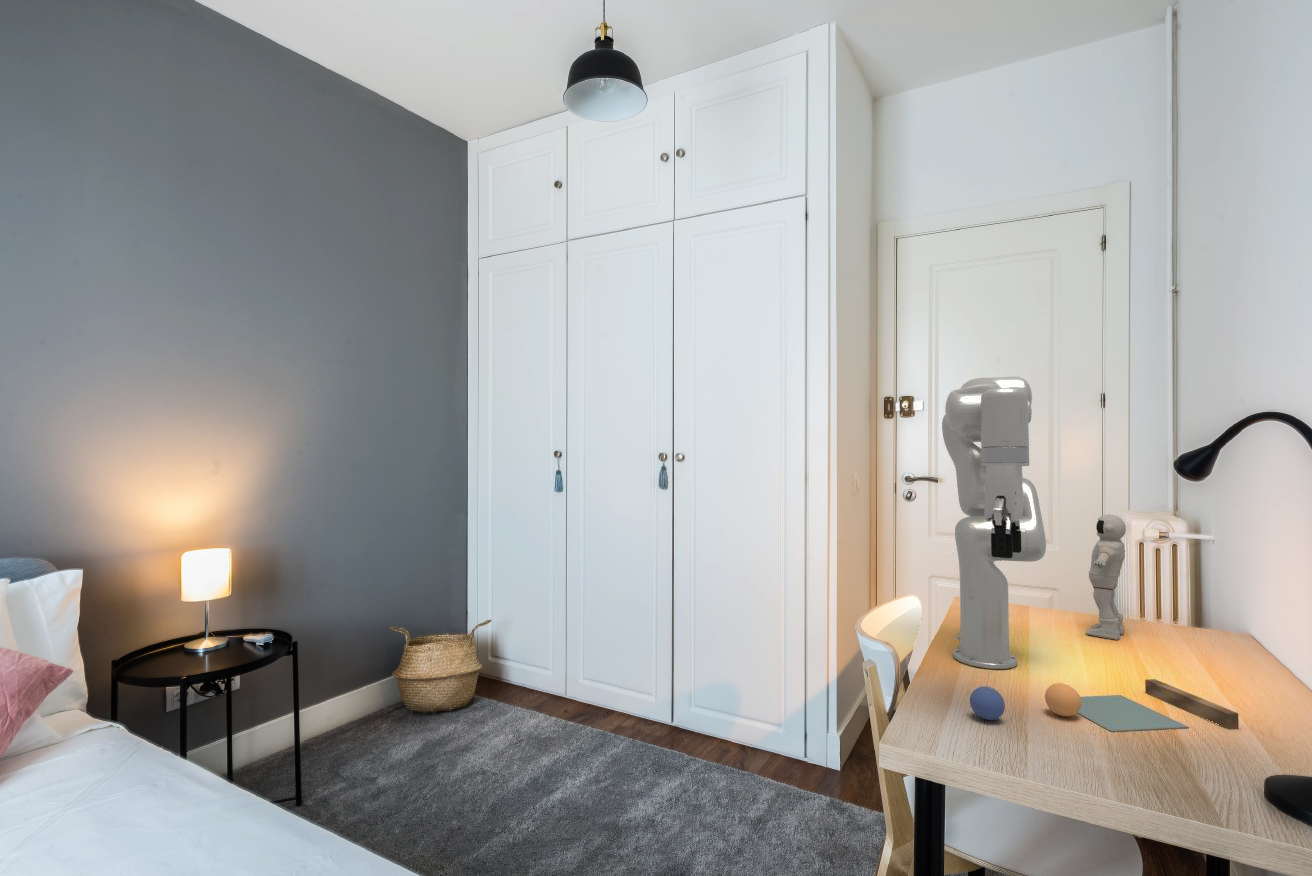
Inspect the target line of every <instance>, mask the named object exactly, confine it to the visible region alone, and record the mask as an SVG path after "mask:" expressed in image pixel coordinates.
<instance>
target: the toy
mask: <svg viewBox="0 0 1312 876" xmlns="http://www.w3.org/2000/svg"><path fill="white" fill-rule="evenodd" d="M1095 527H1096V528H1095V529H1096V531H1097V532H1096V535H1097V536H1098V537H1099V540H1098V541H1097V542H1096V543H1095V545H1094V547H1093V549H1092V553H1091V559H1090V560H1091V562H1090V564H1091V565H1090V570H1088V578H1089V581H1090V583H1091V585H1092V588H1093V593H1092V594H1093V595H1092V596H1093V600H1094V602H1095V604H1096V608H1097V609H1098V616H1099V617H1098V622H1099V623H1096V624H1092V625H1091V626H1090V628H1089V629H1087V630H1085V634H1086V635H1089V636H1093V637H1099V638H1104V639H1109V640H1115V641H1118V640H1120V639H1121V635H1124V634H1125V627H1124V624H1123V621H1124V616H1123V614H1122V613H1119V611H1118V608H1117V606H1116V603H1115V596H1116V595H1115V590H1116V588H1117V587H1118V579H1119V577H1120V576H1121V569H1122V566H1123V564H1124V560H1125V557H1126V555H1125V554H1126V550H1125V543H1124V542H1123V541H1122V538H1123V537H1124V536H1125V534H1126V532H1127V526H1126V524H1125V522H1124V520H1123V519H1122V518H1120V517H1119V516H1117V515H1115V514H1104V515H1101V516H1099V517H1097V522H1096V526H1095Z"/></svg>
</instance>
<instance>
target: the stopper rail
mask: <svg viewBox="0 0 1312 876" xmlns="http://www.w3.org/2000/svg"><path fill="white" fill-rule="evenodd" d="M1144 680H1145V681H1144V682H1145V687H1144V688H1145V689H1144V690H1145V693H1146V694H1147V695H1150V696H1151V697H1154V698H1156V699H1159V700H1161V701H1164V702H1166V703H1168V704H1170V705H1172V706H1175V707H1176V708H1178V709H1180V710H1184V711H1186V712H1189V713H1190V714H1192V713H1193V715H1194V716H1195V715H1196V716H1197V715H1198V717H1199V716H1200V718H1202V717H1203V718H1202V719H1204V718H1205V719H1204V720H1206V719H1208V720H1210V721H1209V722H1211V721H1213V722H1214V723H1213V722H1212V723H1213V724H1215V723H1217V724H1219V725H1218V726H1220V725H1221V726H1220V727H1222V726H1223V727H1222V728H1224V727H1225V728H1224V729H1226V728H1227V729H1226V730H1235V729H1238V728H1239V726H1240V725H1239V722H1240V721H1239V712H1236V711H1234V710H1231V709H1229V708H1226V707H1225V706H1222V705H1219V704H1216V703H1214V702H1211V701H1209V700H1207V699H1204V698H1202V697H1200V696H1197V695H1194V694H1192V693H1191V692H1190V693H1189V692H1187V691H1186V690H1182V689H1180V688H1178V687H1175V686H1172V685H1170V684H1168V683H1166V682H1162V681H1161V680H1158V679H1155V678H1154V679H1153V678H1151V679H1149V678H1147V679H1144ZM1208 720H1207V721H1208ZM1217 724H1216V725H1217ZM1231 728H1233V729H1231Z"/></svg>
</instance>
